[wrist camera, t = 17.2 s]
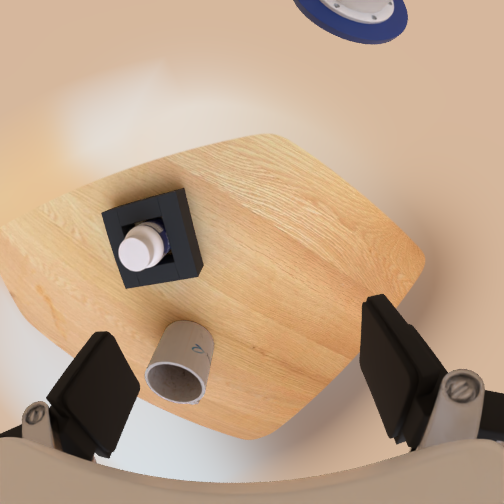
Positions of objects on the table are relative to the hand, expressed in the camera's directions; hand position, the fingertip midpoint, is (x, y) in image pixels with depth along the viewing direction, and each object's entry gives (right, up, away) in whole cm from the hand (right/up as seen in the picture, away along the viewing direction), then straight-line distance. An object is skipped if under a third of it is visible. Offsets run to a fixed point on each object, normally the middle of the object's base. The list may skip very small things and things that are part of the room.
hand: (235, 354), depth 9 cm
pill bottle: (-12, +6, +27) cm, 31 cm away
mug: (-10, -13, +34) cm, 37 cm away
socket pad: (-13, +6, +27) cm, 31 cm away
